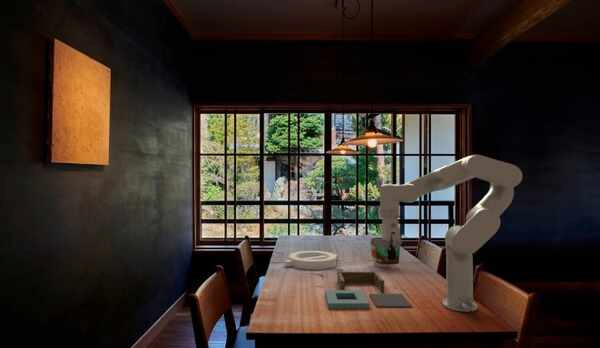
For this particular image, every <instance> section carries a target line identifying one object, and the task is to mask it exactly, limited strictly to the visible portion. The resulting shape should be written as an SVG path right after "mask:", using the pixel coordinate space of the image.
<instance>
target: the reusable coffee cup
mask: <svg viewBox="0 0 600 348" xmlns="http://www.w3.org/2000/svg"><path fill="white" fill-rule="evenodd" d="M374 238H375V239H379V240H383V238H382V237H372V238H370V246H371V248H370V250H371V257H372V263H373V266H375V267H378V268H388V267H390V265H386V264H380V263H377V260H376V250H375V244H373V242H374Z"/></svg>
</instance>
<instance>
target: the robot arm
mask: <svg viewBox="0 0 600 348" xmlns="http://www.w3.org/2000/svg"><path fill="white" fill-rule="evenodd" d="M522 172H523V171H522V170H521V169H520V168H519V167H518V166H516V165H515V164H512V163H509V162H505V161H501V160H497V159H494V158H492V157H491V158H490V157H488V156H484V155H481V154H473V155H469V156H466V157H463V158H461V159H459V160H455V161H454V162H451V163H449V164H447V165H444V166H442V167H440V168H437V169H435V170H433V171H431V172H429V173H427V174H425V175H422V176H420V177H418V178H415V179H412V180H411V181H409V182H406V183H404V184H392V183H387V184H385V183H384V184H381V186H380V187H379V193H380V194H379V196H380V197H379V200H380V201H379V202H380V203H379V204H380V208H379V209H380V210H379V211H380V215H379V217H380V219H382V221H381V222H382V223H381V238H383V240H387V242H388V243H389V242H390V241H389V240H392V243H389V250H388V260H396V241H397V243H399V237H400V226H399V225H400V224H399V218H400V203H401V202H402V203H411V204H412V203H414V202H416V201H417V200H418V199H419V198H420V197H422V196H424V195H427V194H430V193H433V192H438V191H444V190H447V189H449V188H452V187H455V186H457V185H460V184H462V183H464V182H467V181H469V180H473V179H474V178H477V179H479V180H482V181H486V182H488V183H489V185H490V186H489V190H488V192H487V194H485V195H484V196H483V198H482V199H481V200H480V201H478V203H476V205H474V206H473V208H471V209H470V210H469V211H468V212H467V214H466V216H465V217H466V218H465V219H466V222H465V223H464V224H463V225H454V226H453V225H452V226H451V227H450V228H448V229H447V231H446V232H445V237H444V243H445V244H444V245H445V255H446V256H445V258H446V263H445V264H446V265H445V268H446V269H445V271H446V273H445V274H446V276H445V277H446V283H445V286H446V290H445V292H446V295H445V297H446V298H444V299H443V300H442V303H441V304H442V305H443V307H444V308H446V309H449V310H452V311H457V312H461V311H462V313H463V312H465V313H471V312H470V311H472V312H475V311H477V310H478V304H477V303H475V302H474V281H473V279H474V273H473V272H474V263H473V262H474V261H473V259H474V258H473V254H474V253H476V252H477V251H478V250H479V249H480V248H482V247H483V246H484V245H485V244H486V243H487V242H488V241H489V240H490V239H491V238H492V237H493V236H494V235H495V234H496V233H497V232H498V231H499V228H500V227H501V226H500V225H501V218H500V216H501V215H502V214H503V213H504V211H505V210H506V209H508V207H509V206H510V205H511V203H512V201H513V199H514V194H515V192H514V187H516V186H518V185H519V184H520V183H521V182H522V180H523V173H522ZM390 244H391V246H390Z"/></svg>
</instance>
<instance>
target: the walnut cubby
mask: <svg viewBox="0 0 600 348" xmlns="http://www.w3.org/2000/svg"><path fill="white" fill-rule="evenodd" d="M336 274H337V278H336V279H337V280H336V281H337V285H338V287H339V290H346V284H350V283H351V284H360V283H361V284H365V283H366V284H374V286H376V288H377V289H378V290H379V292H380V293H385V280H384V279H383V278H382V276H381V275H380V274H379V272H377V271H337V273H336Z"/></svg>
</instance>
